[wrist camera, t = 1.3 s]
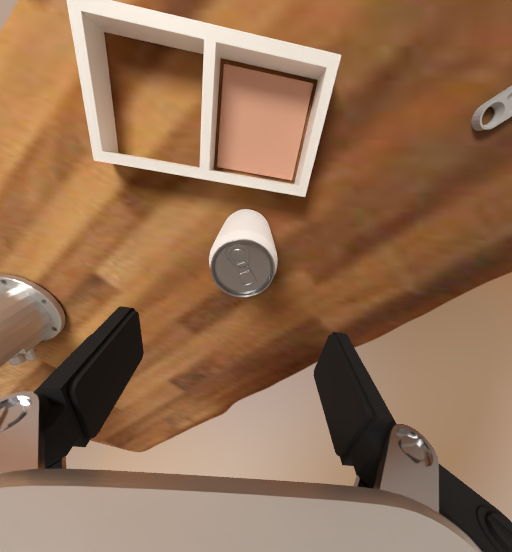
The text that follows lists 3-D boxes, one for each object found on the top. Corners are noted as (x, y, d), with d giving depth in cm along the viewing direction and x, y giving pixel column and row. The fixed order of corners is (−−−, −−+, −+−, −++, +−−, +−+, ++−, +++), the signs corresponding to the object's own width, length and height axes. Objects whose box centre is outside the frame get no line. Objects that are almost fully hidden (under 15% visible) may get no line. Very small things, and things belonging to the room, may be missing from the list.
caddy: (299, 194, 27) (305, 197, 24) (111, 161, 25) (93, 160, 22) (330, 69, 21) (341, 54, 18) (90, 14, 19) (64, -11, 17)
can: (261, 201, 27) (267, 223, 16) (275, 246, 30) (288, 290, 19) (215, 217, 28) (192, 248, 17) (233, 260, 31) (222, 309, 20)
